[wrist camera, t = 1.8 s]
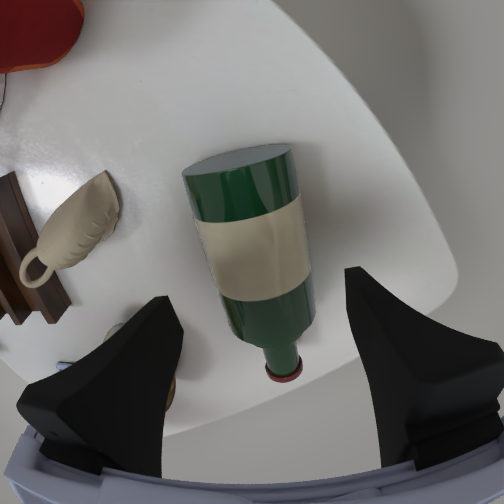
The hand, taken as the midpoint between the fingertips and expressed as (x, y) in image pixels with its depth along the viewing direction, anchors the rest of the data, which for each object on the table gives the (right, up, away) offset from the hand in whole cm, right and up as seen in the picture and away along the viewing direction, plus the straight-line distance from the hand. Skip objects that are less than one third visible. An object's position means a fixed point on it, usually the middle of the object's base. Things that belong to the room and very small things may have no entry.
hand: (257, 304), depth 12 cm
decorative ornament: (-13, +5, +8) cm, 16 cm away
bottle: (0, +1, +6) cm, 6 cm away
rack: (-24, +2, +10) cm, 26 cm away
